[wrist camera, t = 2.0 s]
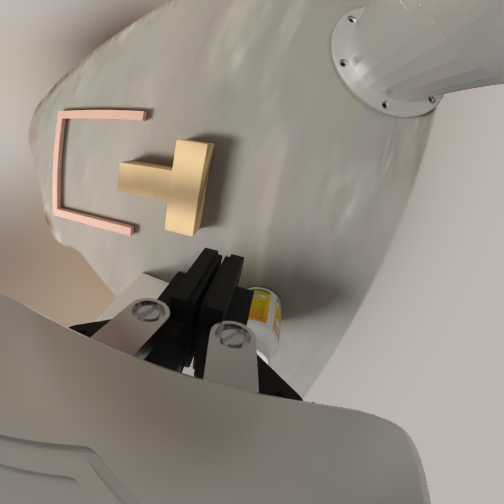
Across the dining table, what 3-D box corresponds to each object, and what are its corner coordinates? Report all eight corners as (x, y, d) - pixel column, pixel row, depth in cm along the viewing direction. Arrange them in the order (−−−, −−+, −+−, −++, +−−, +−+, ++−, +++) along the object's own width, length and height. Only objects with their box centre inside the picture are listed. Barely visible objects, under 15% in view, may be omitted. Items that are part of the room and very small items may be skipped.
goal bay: (62, 111, 25) (58, 111, 24) (147, 111, 24) (143, 111, 24) (56, 213, 31) (52, 214, 30) (133, 233, 30) (130, 236, 29)
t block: (136, 133, 26) (123, 133, 23) (214, 143, 25) (207, 144, 23) (127, 211, 29) (116, 217, 27) (200, 228, 29) (192, 236, 27)
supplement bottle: (291, 305, 31) (290, 365, 22) (259, 330, 33) (249, 390, 24) (256, 276, 30) (243, 331, 21) (226, 303, 32) (205, 360, 23)
